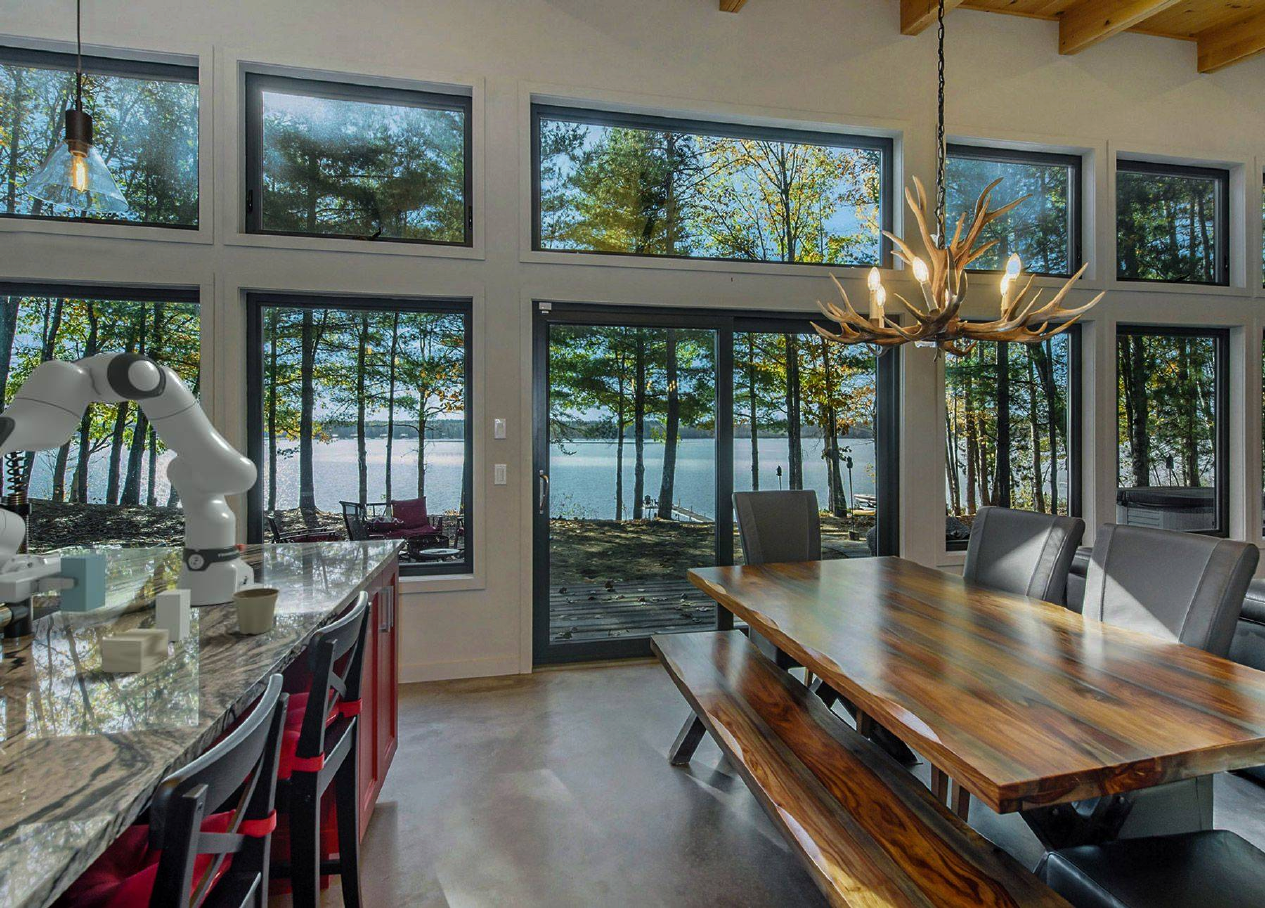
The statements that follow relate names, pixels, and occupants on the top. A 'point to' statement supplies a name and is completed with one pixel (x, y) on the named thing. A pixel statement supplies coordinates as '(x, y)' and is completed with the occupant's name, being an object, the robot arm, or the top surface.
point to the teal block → (83, 582)
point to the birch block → (134, 650)
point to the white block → (173, 613)
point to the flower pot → (255, 609)
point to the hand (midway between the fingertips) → (88, 579)
